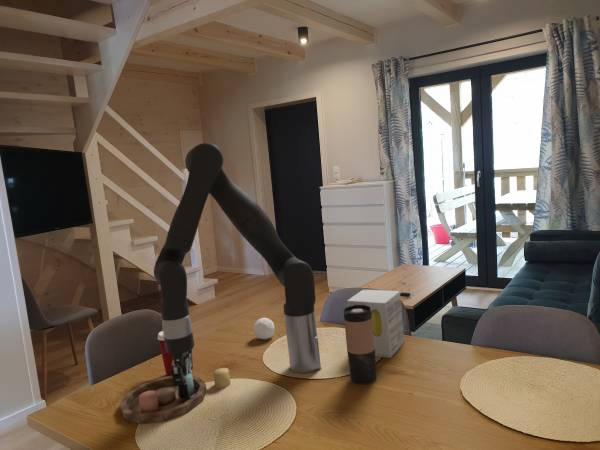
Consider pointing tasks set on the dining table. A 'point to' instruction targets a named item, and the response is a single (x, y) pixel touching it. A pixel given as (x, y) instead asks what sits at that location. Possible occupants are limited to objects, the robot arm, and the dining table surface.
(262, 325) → the geometric ball
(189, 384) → the pale blue rounded piece
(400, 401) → the dining table surface
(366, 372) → the travel mug
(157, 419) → the walnut tray
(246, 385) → the dining table surface
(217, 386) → the ochre bead
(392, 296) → the supplement box
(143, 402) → the pink rounded piece
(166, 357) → the paper cup
